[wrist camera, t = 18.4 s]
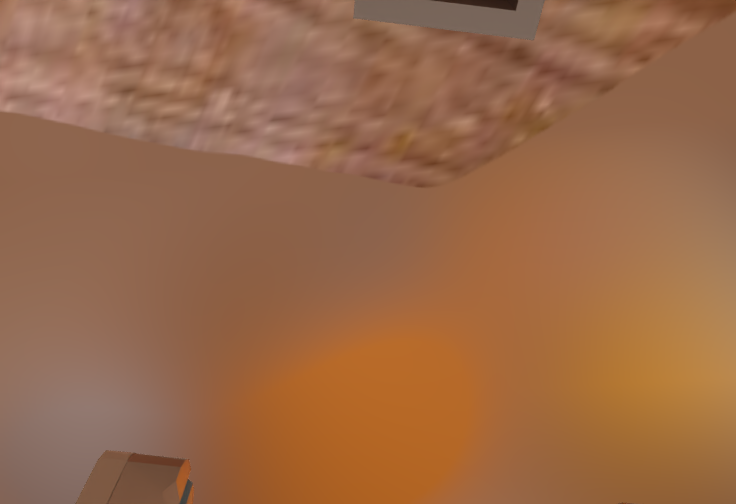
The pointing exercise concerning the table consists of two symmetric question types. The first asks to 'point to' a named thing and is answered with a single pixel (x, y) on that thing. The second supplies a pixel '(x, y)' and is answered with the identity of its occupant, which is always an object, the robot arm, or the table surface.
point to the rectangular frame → (458, 15)
